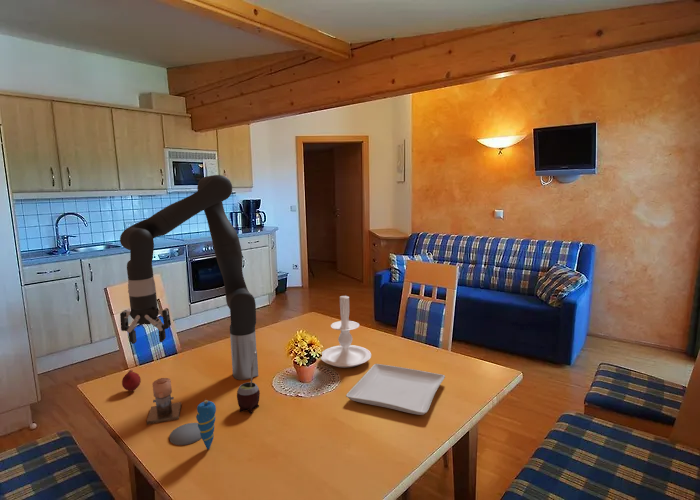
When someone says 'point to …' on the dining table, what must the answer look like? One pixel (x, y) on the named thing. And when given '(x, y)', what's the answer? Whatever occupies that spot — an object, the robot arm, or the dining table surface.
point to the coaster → (185, 434)
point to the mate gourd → (248, 395)
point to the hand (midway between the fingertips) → (148, 342)
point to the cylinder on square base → (164, 410)
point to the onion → (131, 381)
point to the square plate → (397, 388)
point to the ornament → (206, 421)
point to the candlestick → (345, 342)
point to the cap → (162, 387)
